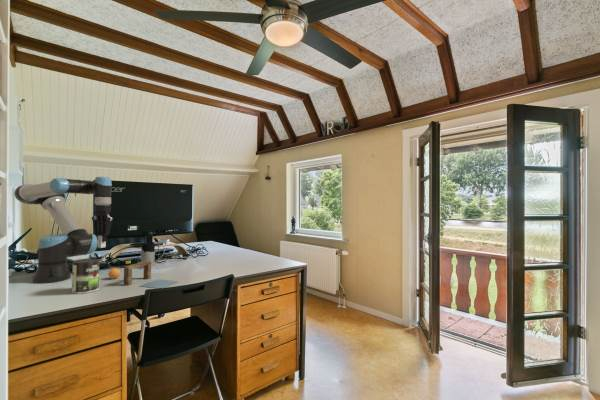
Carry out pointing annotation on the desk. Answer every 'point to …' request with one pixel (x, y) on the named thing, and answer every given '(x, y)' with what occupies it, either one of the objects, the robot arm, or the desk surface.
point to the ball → (114, 273)
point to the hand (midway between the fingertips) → (101, 247)
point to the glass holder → (149, 253)
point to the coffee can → (85, 276)
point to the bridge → (129, 268)
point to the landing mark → (159, 283)
